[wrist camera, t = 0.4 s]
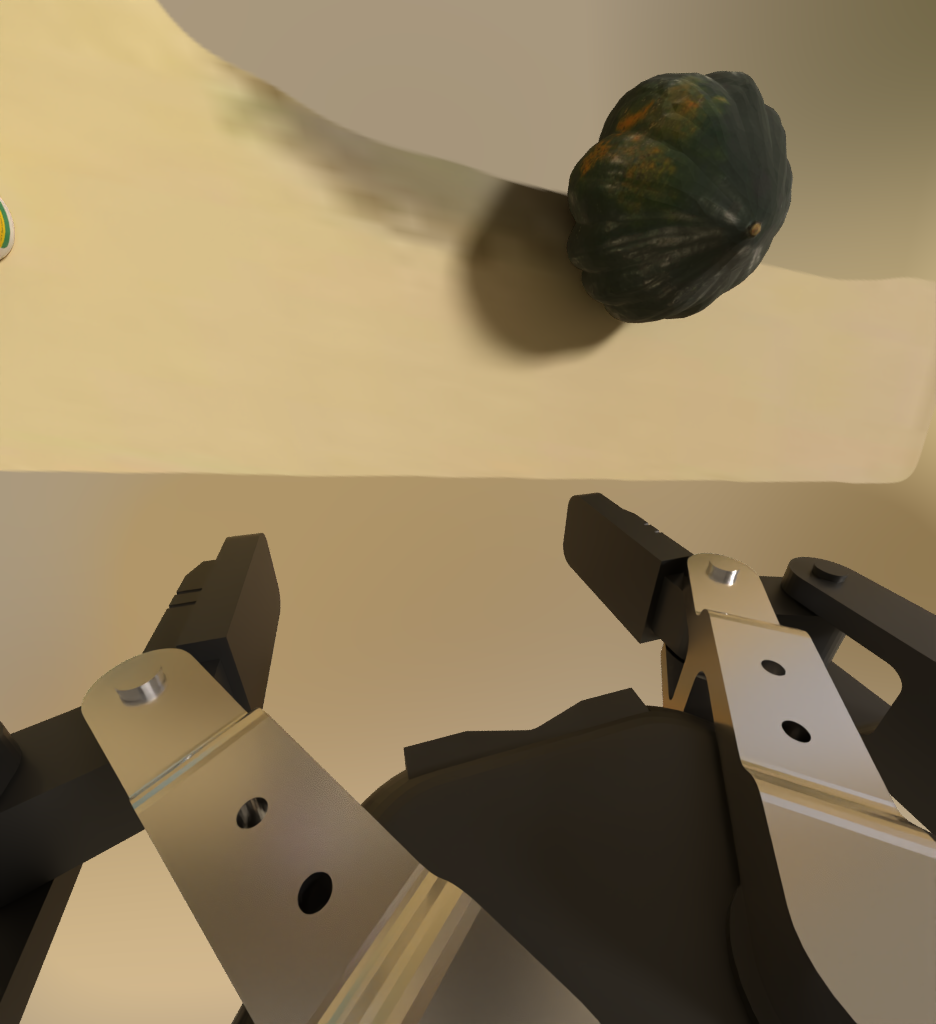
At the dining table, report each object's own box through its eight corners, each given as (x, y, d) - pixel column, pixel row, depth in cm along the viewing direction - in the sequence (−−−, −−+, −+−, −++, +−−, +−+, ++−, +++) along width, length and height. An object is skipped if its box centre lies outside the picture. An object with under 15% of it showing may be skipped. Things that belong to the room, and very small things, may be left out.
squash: (701, -23, 26) (740, 15, 18) (803, 172, 32) (866, 267, 24) (538, 184, 36) (514, 268, 28) (639, 301, 42) (644, 397, 34)
